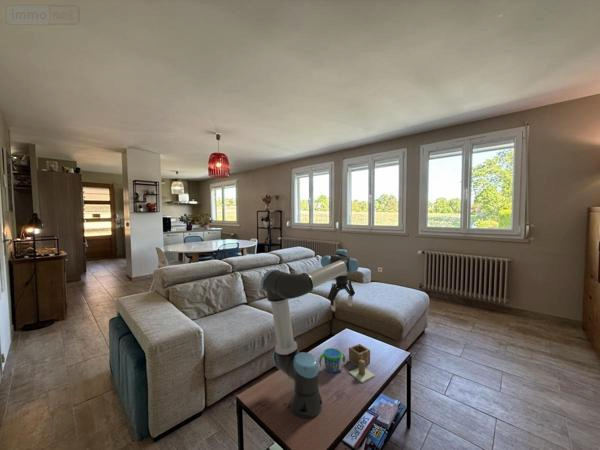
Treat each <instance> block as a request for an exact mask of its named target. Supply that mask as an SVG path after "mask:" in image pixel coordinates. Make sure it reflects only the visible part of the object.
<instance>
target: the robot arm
mask: <svg viewBox="0 0 600 450" xmlns="http://www.w3.org/2000/svg"><path fill="white" fill-rule="evenodd" d="M334 251H335V252H334V254H325V255H324V256H322V257H321V258H320V265H321V266H322V267H320V268H317V269H315V270H313V271H310V272H302V273H299V274H293V273H288V272H284V271H281V270H279V269H269V270H267V271H266V272H265V273H264V274H263V276H262V277H261V280H260V286H261V288H262V290H263V291H264V292H265V293H266V299H267V301H268V302H270V305H271V310H272V316H273V317H272V318H273V325H274V331H275V332H274V333H275V337H276V345H275V347H274V350H273V353H272V362H273V365H274V366H275V367H276V368H277V369H278V370H279V371H280V372H282V373H284V374H285V375H286V376H288V377H289V378H290V379H291V380H293V393H292V396H291V399H290V408H291V411H292V413H293V414H294V415H295V416H297V417H299V418H303V419H311V418H314V417H317V416H318V415H319V414H320V413H321V412H322V409H323V400H322V399H323V398H322V397H321V396H322V395H321V393H320V390H319V360H318V359H317V357H316V356H315V355H314V354H312V353H310V352H305V351H301V352H299V347H298V343H297V341H295V340H294V339H295V338H294V334H293V333H294V332H293V324H292V317H291V311H290V304H289V300H292V299H296V298H300V297H303V296H305V295H308V294H310V293H312V292H313V291H314V289H315V288H317V287H319V286H321V285H323V284H325V283H327V282H330V281H333V280H334V279H335V282H336V283H333V282H332V283H331V287H330V290H329V293H328V296H327V300H330V306H331V311H332V312H336V300H335V299H336V297H337V295H338V294H339V292H341V291H342V290H345V291H346V292H347V294H348V295H347V306H349V307H352V306H353V303H352V302H353V297H354V295H355V294H356V292H355V289H354V287H353V285H352V281H351V280H349V278H348V277H349V276H348V274H349V273H356V272H357V271H358V269H359V267H360V263H359V261H358V260H357V259H356V258H353V257H349V255H348V251H347V249H344V248H343V249H340V248H339V249H336V250H334Z"/></svg>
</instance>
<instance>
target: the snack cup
mask: <svg viewBox="0 0 600 450" xmlns="http://www.w3.org/2000/svg"><path fill="white" fill-rule="evenodd" d="M342 356H343V357H342ZM323 358H324V365H325V370H326V371H327V372H328V373H331V374H334V373H338V371H339V369H340V363H341V358H342V362H343V363H346V357H345V354H344V353H343V352H342V351H340V350H339V349H337V348H331V347H330V348H326V349H324V350H323V352H322V354H321V355H320V357H319V359H318V364H319V365H320V367H322V359H323Z"/></svg>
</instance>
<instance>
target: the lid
mask: <svg viewBox="0 0 600 450" xmlns="http://www.w3.org/2000/svg"><path fill="white" fill-rule="evenodd" d="M348 373H349V375H351V377H353V378H354V379H356V380H357V381H358V382H360V383H361V384H363V383H366V382H367V381H369V380H372V379H374V378H375V377H376V375H375V374H374V373H372V372H371V371H369V369H367V368H366V365H365V361H364V360H359V367H357V368H355V369H353V370H350V371H349V372H348Z"/></svg>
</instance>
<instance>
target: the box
mask: <svg viewBox="0 0 600 450" xmlns="http://www.w3.org/2000/svg"><path fill="white" fill-rule="evenodd" d="M359 360H364V361H365V366H367V365H368V364H370V363H371V350H370V349H369V348H367V347H365V346H364V345H362V344H361V343H358V344H354V345H352V346H351V347H348V361H349V362H350V363H352V364H353V365H354V366H356V367H357V368H359Z"/></svg>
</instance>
